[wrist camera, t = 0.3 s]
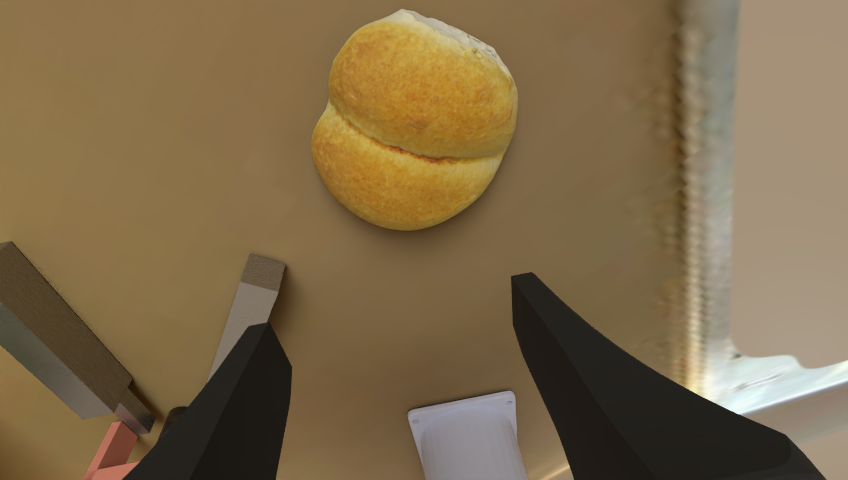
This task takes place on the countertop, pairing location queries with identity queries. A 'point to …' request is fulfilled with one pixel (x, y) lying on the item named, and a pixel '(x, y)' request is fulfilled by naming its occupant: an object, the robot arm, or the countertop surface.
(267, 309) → the bar
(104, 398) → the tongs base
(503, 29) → the countertop surface
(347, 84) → the bread roll
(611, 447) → the robot arm
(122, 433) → the pink bridge block
